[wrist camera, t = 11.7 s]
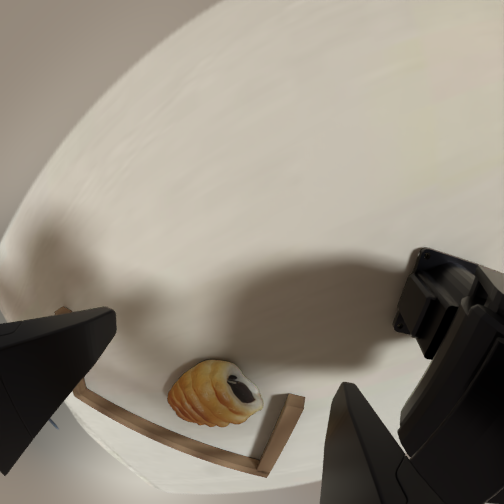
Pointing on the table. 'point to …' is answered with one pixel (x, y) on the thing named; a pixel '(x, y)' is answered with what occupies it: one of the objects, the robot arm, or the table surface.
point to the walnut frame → (195, 448)
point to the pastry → (215, 395)
